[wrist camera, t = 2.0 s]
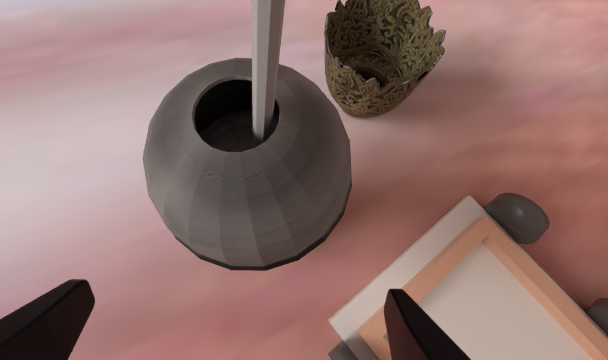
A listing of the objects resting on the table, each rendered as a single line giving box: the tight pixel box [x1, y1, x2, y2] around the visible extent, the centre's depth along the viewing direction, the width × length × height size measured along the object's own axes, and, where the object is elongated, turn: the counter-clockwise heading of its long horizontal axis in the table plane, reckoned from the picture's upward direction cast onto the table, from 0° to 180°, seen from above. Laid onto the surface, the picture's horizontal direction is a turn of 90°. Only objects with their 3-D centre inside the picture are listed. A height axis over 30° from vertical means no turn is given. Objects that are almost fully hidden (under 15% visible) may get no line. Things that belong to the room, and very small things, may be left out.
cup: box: [324, 0, 446, 119], centre depth 22 cm, size 8×7×8 cm
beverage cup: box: [143, 0, 352, 271], centre depth 12 cm, size 7×7×20 cm
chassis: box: [328, 193, 608, 360], centre depth 18 cm, size 15×16×4 cm
